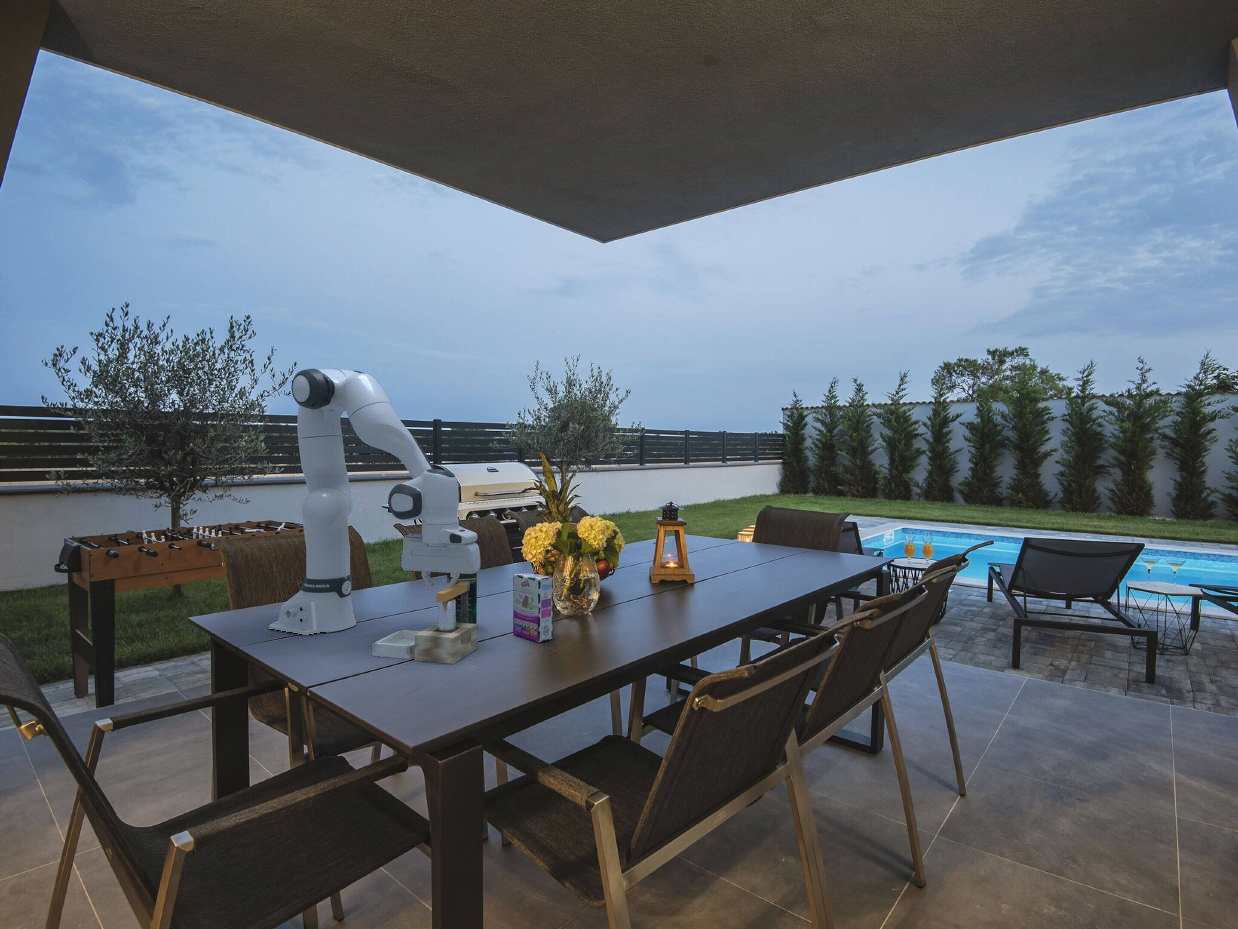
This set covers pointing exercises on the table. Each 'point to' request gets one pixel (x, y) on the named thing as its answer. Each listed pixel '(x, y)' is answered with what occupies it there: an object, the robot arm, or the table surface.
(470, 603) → the coffee jar
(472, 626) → the block
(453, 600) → the steel pin
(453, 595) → the bar
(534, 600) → the candy bar box
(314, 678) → the table surface
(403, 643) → the tray
